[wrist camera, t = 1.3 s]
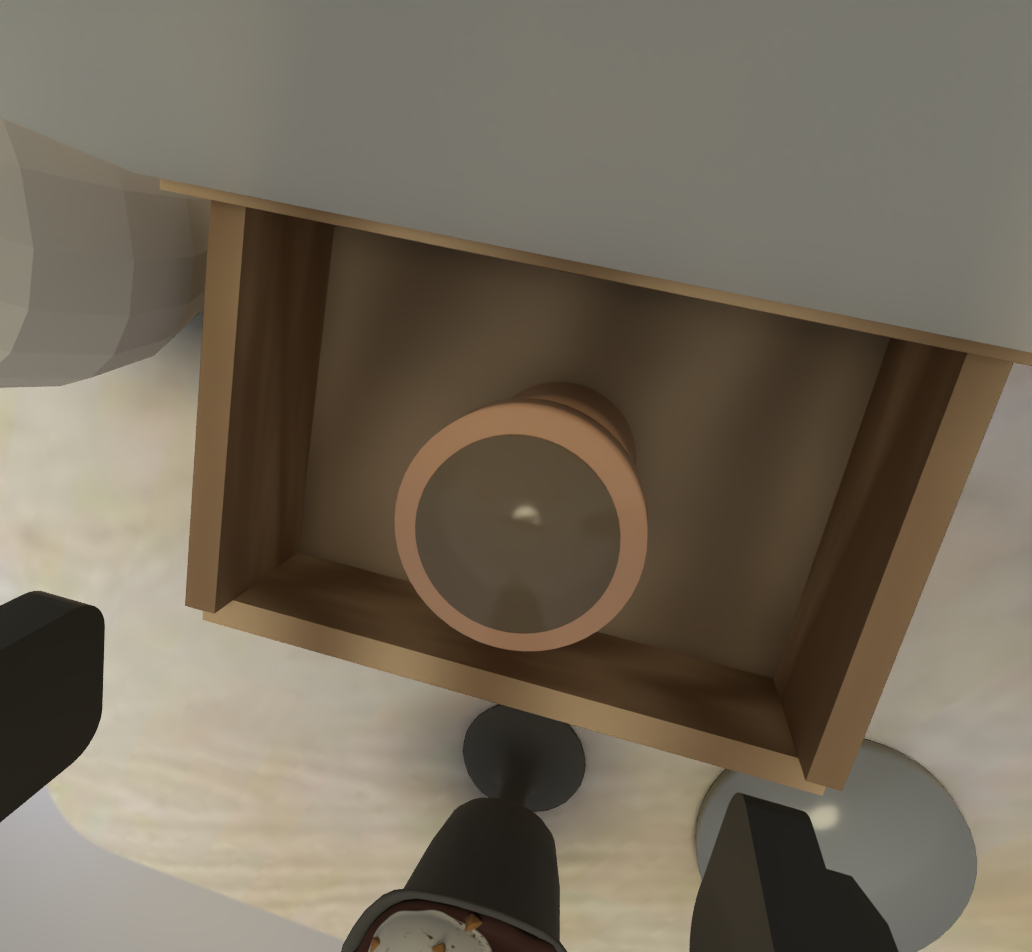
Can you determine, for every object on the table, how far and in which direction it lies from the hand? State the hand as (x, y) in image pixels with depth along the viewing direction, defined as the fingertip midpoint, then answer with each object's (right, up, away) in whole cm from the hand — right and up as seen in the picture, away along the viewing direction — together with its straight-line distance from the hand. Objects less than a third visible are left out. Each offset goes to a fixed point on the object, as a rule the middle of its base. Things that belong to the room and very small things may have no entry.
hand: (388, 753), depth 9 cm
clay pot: (+3, +4, +15) cm, 16 cm away
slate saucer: (+13, -11, +18) cm, 25 cm away
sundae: (+2, -8, +20) cm, 21 cm away
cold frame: (+3, +4, +16) cm, 17 cm away
